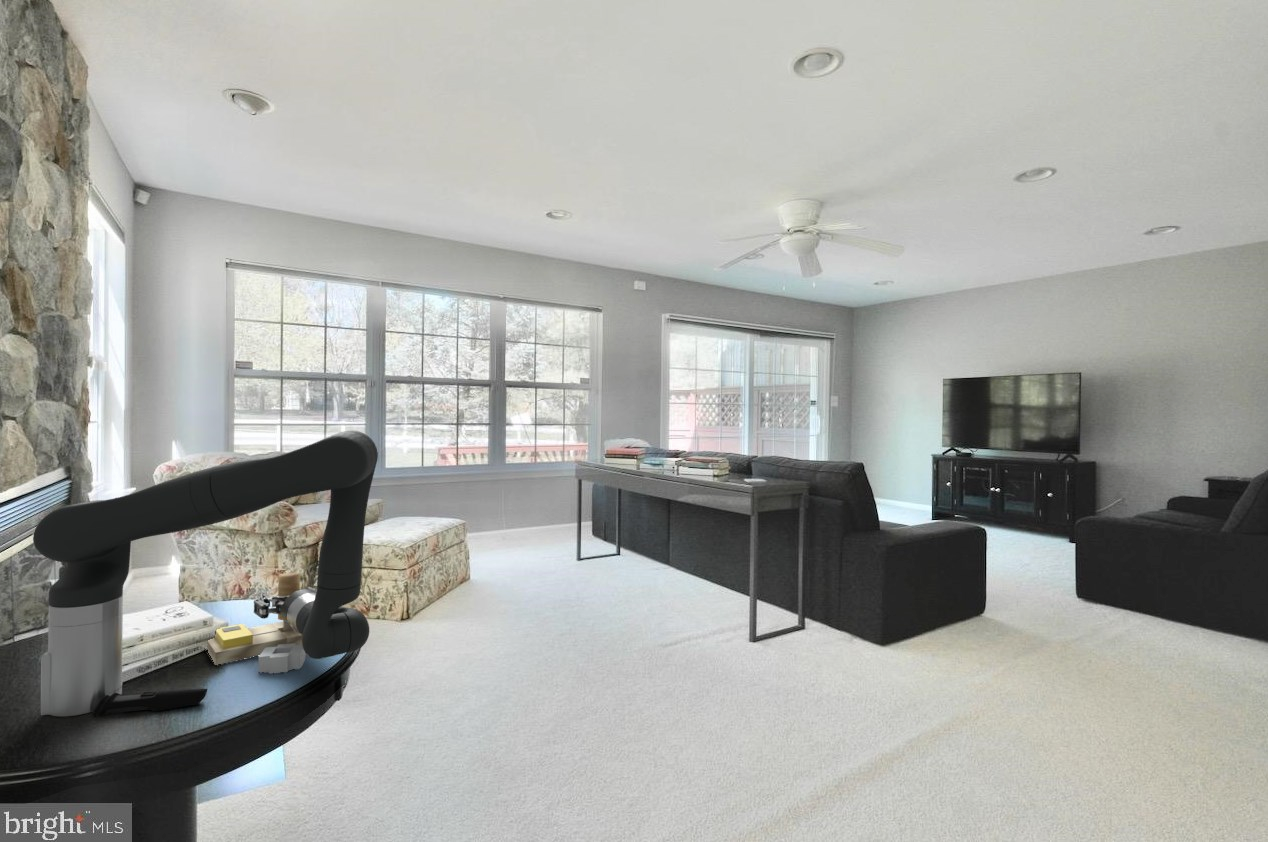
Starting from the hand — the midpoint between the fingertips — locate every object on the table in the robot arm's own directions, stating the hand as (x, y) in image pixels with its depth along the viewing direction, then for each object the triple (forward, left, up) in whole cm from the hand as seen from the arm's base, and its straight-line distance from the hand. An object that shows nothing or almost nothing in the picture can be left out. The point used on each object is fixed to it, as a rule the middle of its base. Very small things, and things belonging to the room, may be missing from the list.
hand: (286, 595), depth 135 cm
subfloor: (-3, -3, -9) cm, 10 cm away
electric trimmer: (-14, -30, -10) cm, 34 cm away
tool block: (+3, -17, -9) cm, 19 cm away
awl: (+1, -2, -9) cm, 9 cm away
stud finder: (-8, -6, -7) cm, 12 cm away
